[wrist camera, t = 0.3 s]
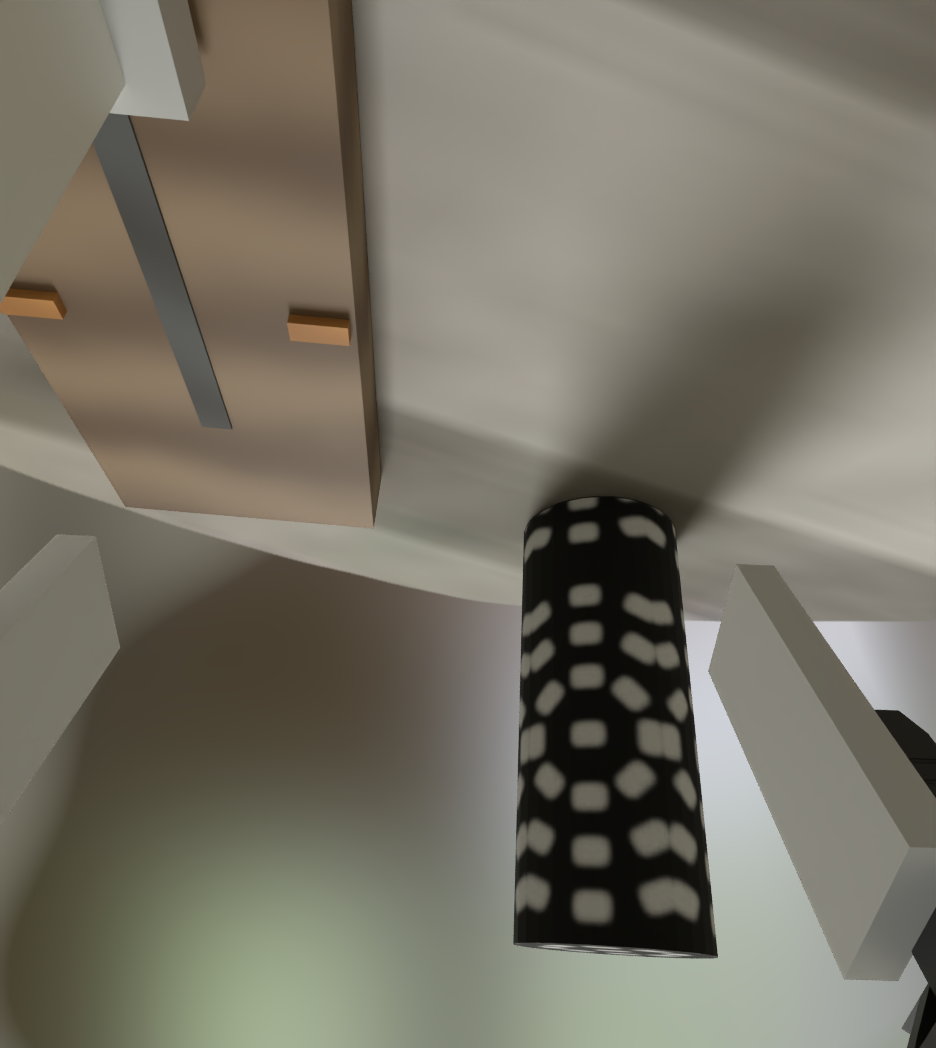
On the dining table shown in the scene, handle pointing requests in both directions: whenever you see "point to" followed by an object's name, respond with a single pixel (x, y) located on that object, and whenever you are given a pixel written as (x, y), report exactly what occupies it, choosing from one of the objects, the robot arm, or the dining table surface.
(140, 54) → the fader knob
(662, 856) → the spotted tube
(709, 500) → the dining table surface
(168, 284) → the fader console
